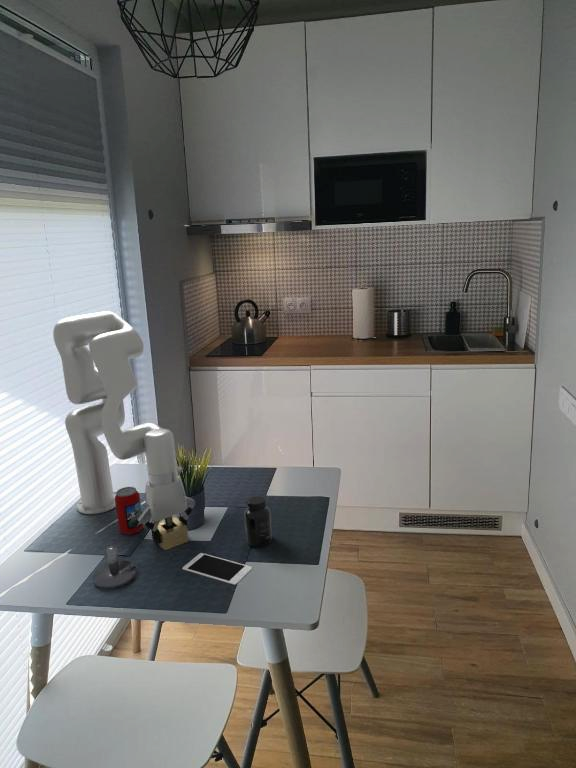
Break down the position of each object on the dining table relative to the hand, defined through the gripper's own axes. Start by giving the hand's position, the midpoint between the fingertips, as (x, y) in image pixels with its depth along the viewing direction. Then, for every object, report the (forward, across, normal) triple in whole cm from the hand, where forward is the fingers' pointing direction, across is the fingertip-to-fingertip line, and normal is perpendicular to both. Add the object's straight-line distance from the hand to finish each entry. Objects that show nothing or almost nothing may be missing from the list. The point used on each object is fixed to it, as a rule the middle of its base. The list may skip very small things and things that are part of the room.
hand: (170, 536), depth 159 cm
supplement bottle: (+2, -18, +16) cm, 24 cm away
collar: (+1, 0, 0) cm, 1 cm away
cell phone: (+2, -3, +20) cm, 20 cm away
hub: (+1, +18, +7) cm, 19 cm away
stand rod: (+1, 0, 0) cm, 1 cm away
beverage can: (+1, +6, -13) cm, 14 cm away
